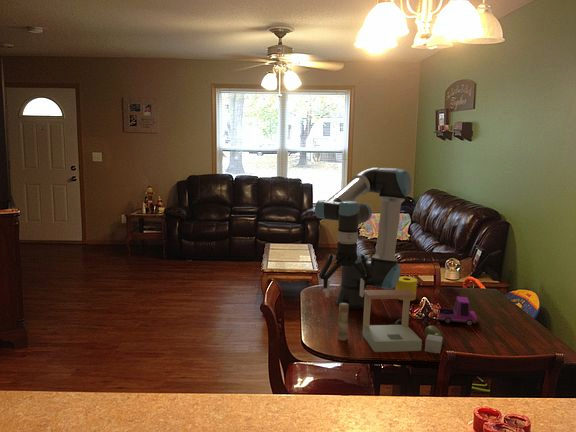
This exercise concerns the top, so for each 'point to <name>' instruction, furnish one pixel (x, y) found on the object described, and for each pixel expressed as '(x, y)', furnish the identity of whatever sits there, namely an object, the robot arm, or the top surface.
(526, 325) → the top surface
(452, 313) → the toy truck
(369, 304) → the beige arch frame
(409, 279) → the tape roll
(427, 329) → the pear
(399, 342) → the socket board
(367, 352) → the top surface
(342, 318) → the peg
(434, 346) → the small box
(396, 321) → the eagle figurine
